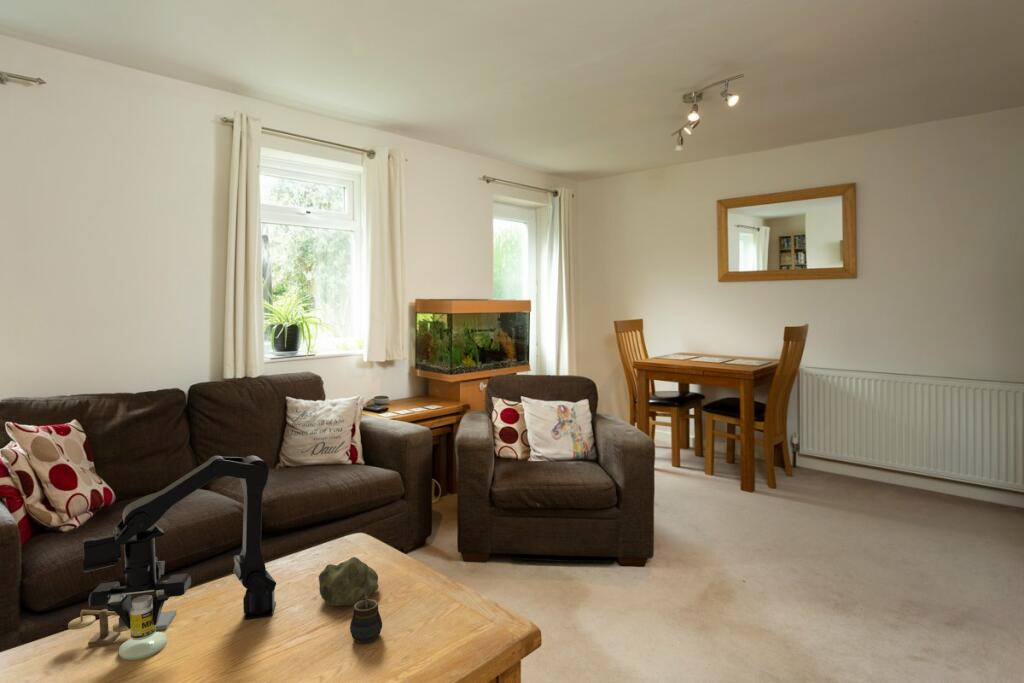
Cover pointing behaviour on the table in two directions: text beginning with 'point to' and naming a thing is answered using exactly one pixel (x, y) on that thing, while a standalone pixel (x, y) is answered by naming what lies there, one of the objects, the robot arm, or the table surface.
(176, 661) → the table surface
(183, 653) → the table surface
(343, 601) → the decorative rock
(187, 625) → the table surface
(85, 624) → the balance
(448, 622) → the table surface
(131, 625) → the supplement bottle
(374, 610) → the mate gourd
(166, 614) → the slate coaster
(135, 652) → the sage dish
